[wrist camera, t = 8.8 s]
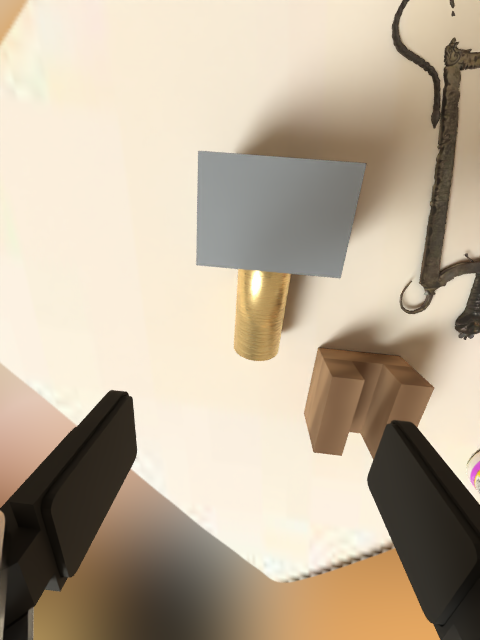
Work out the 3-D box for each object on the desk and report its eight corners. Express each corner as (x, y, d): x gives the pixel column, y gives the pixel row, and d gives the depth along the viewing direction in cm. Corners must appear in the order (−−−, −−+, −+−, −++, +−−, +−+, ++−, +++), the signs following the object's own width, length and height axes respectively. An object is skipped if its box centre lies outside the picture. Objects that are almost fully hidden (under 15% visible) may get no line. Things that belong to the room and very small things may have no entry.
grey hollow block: (217, 175, 19) (198, 150, 13) (330, 184, 19) (366, 163, 13) (214, 253, 22) (196, 265, 15) (316, 262, 21) (340, 278, 15)
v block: (399, 356, 24) (434, 387, 19) (376, 421, 27) (402, 462, 22) (318, 347, 24) (332, 376, 19) (304, 413, 27) (313, 452, 22)
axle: (247, 164, 17) (241, 158, 14) (304, 168, 17) (313, 163, 14) (236, 332, 24) (230, 357, 21) (277, 337, 24) (278, 363, 20)
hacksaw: (473, 335, 23) (487, 342, 22) (357, 339, 24) (363, 346, 23) (577, -39, 15) (611, -68, 13) (393, -10, 16) (406, -34, 14)
